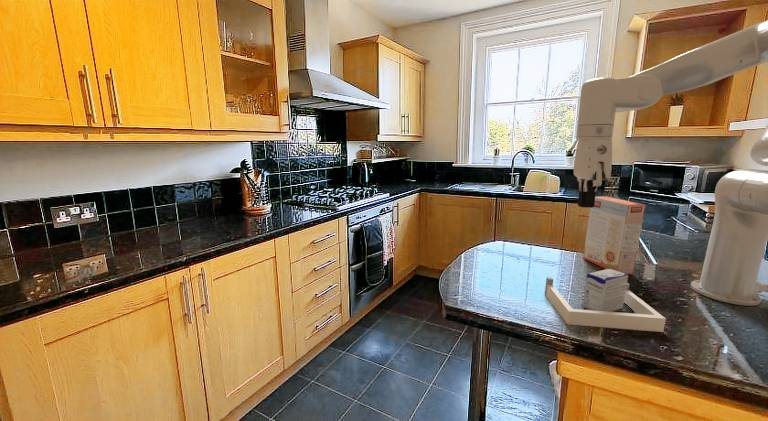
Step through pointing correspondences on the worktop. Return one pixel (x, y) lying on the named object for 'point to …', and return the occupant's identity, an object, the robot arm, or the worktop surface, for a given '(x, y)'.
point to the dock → (608, 313)
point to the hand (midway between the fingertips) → (585, 206)
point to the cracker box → (614, 233)
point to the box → (605, 290)
